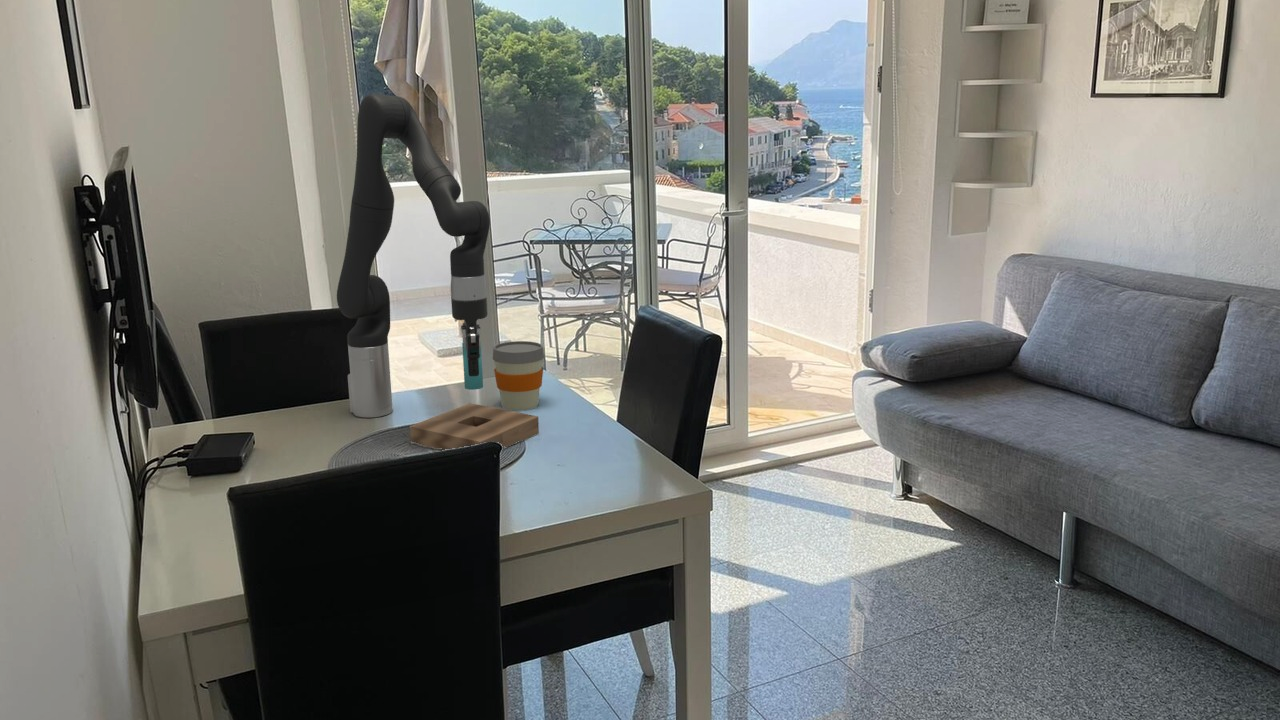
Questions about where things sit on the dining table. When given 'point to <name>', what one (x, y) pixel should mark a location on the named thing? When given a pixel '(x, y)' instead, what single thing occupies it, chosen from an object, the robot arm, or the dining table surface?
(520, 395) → the reusable coffee cup
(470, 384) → the peg
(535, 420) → the socket block
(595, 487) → the dining table surface
